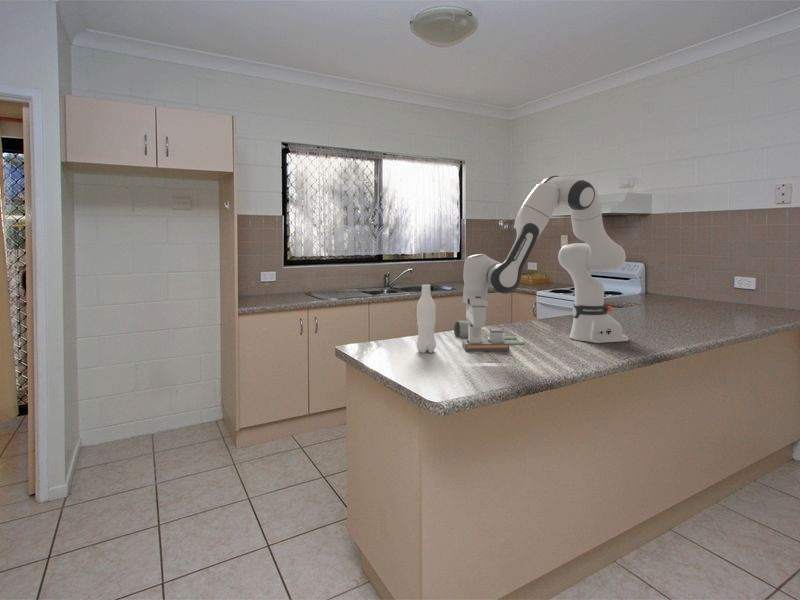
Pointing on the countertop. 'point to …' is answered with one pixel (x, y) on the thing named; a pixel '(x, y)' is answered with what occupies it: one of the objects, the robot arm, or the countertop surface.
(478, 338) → the plug
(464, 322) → the ceramic mug
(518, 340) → the tray
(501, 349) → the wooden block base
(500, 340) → the twin plug
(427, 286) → the water bottle
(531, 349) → the countertop surface
